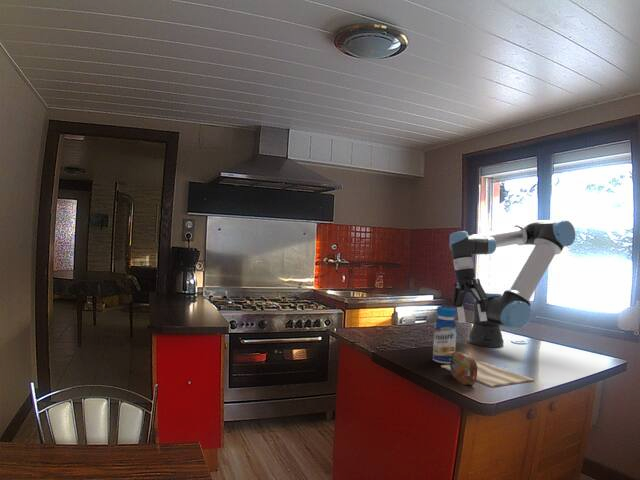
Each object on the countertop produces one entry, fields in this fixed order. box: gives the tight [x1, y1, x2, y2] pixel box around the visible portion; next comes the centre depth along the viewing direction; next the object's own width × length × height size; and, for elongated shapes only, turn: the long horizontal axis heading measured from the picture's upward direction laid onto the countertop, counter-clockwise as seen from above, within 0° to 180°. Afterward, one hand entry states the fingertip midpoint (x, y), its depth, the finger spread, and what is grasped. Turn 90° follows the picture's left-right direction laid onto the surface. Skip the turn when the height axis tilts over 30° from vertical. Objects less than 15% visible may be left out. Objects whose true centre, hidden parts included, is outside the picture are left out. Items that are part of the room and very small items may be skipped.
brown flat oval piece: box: [449, 351, 477, 386], centre depth 136 cm, size 15×3×8 cm, turn 5°
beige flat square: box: [440, 360, 535, 388], centre depth 145 cm, size 20×22×1 cm
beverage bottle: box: [432, 306, 458, 365], centre depth 159 cm, size 8×8×20 cm
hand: (472, 322), depth 168 cm, fingers open, 13 cm apart
